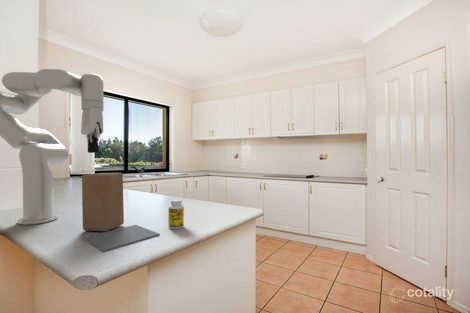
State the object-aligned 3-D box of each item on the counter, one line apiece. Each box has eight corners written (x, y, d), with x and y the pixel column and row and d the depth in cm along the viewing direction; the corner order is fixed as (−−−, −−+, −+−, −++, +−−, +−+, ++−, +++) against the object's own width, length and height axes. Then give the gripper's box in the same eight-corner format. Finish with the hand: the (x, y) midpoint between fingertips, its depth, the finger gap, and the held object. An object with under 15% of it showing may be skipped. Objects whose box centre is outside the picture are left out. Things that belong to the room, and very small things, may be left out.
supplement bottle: (168, 230, 86) (168, 202, 86) (168, 225, 92) (168, 199, 91) (183, 229, 87) (183, 201, 87) (183, 224, 93) (183, 198, 93)
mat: (82, 238, 77) (82, 237, 77) (135, 225, 91) (135, 224, 91) (103, 251, 67) (103, 250, 67) (159, 235, 81) (159, 233, 81)
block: (106, 232, 82) (104, 174, 82) (81, 231, 84) (80, 174, 84) (125, 224, 91) (124, 172, 92) (102, 223, 93) (101, 172, 94)
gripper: (75, 107, 96) (75, 152, 96) (89, 102, 86) (89, 152, 87) (95, 110, 102) (95, 152, 102) (110, 105, 92) (111, 152, 92)
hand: (93, 152), depth 94 cm, fingers closed
